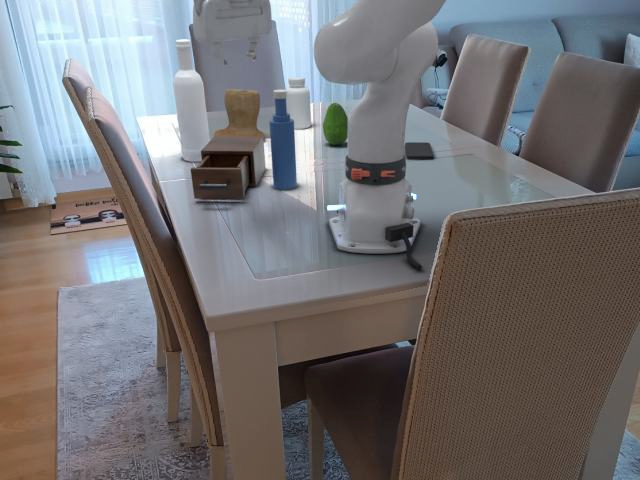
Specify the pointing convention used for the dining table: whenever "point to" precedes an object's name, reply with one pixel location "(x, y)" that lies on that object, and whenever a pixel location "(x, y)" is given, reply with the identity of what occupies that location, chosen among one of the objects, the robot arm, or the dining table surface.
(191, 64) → the bottle
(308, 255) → the dining table surface
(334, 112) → the avocado
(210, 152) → the cabinet
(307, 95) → the pill bottle
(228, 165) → the drawer
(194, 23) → the robot arm
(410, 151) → the phone
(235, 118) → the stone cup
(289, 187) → the bottle
